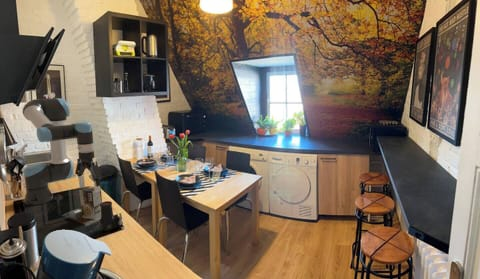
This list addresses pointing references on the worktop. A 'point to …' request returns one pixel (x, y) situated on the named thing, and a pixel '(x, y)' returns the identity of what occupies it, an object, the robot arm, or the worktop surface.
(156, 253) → the worktop surface
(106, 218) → the scope
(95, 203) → the coffee box
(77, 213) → the block
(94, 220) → the panel
